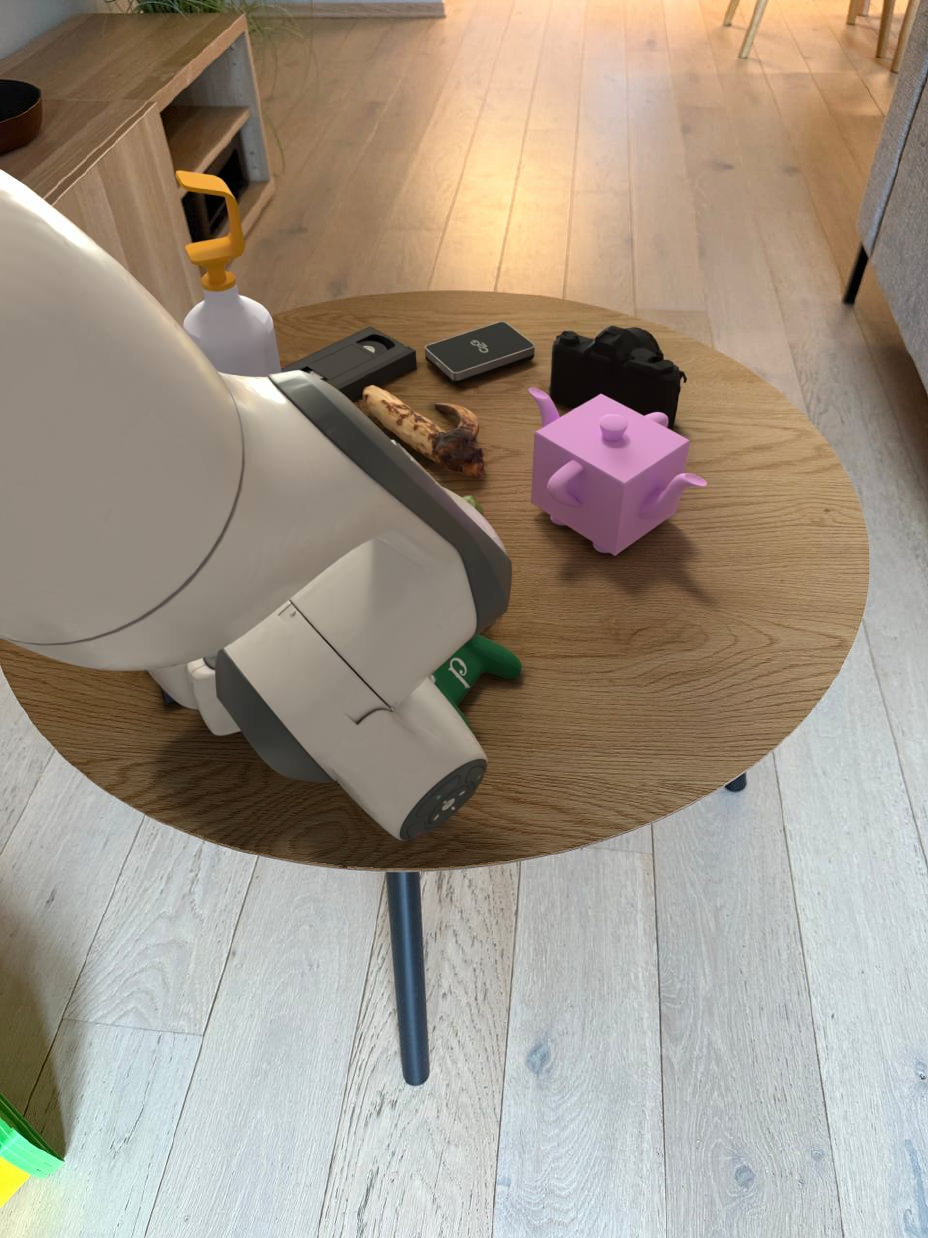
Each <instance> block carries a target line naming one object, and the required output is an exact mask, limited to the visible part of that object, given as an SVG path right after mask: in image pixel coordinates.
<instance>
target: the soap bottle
mask: <svg viewBox="0 0 928 1238" xmlns="http://www.w3.org/2000/svg"><path fill="white" fill-rule="evenodd" d="M174 176H175V178H176V180H177V182H178V183H179V185H180V187H181V188H182V189H183V190H184V191H187V192H192V193H199V194H206V195H212V196H219V197H223V198H225V204H226V209H227V215H228V220H229V224H230V225H229V232H228V234H227V235H226V236H223V237H218V238H214V239H213V238H212V239H208V240H202V241H197V242H192V243H189V244H187V245H185V247H184V251H185V253H186V255H187V257H188V259H189V261H190V263H191V264H192V265H194V266H201V267H202V268H204V269H206V271H207V273H206V274H203V276H202V277H201V278H200V283H201V289H202V293H203V299H204V300H202V301H201V302H199V303H197V304H196V305H195V306H194V307H193V308H192V309H191V310H190V311H189V312H188V314H187V315H186V317H185V318H184V319H183V323H182V329H183V330H184V331H185V332H186V333H187V334H188V336H189V337H190V338H191V339H192V340H193V341H194V343H195V344H196V345H197V346H198V347H199V349H200V350H201V351H202V352H203V354H204V355H205V356H206V358H207V359H208V360H209V361H210V363H211V364H212V365H213V366H214V368H215V369H216V370H217V371H218V372H221V373H225V374H230V375H237V376H248V377H268V375H270V374H276V373H281V368H282V366H281V361H280V356H279V350H278V344H277V338H276V331H275V325H274V322H273V321H274V320H273V317H272V316H271V314H270V312H269V311H268V309H267V308H266V307H265V306H264V305H263V304H261V303H259V302H258V301H256V300H254V299H252V298H250V297H247V296H245V295H240V294H239V290H238V284H237V279H236V275H235V274H234V273H233V272H231V271H229V270H228V271H227V270H226V267H225V266H227V265H228V264H229V263H230V260H234V259H237V258H240V257H241V256H242V255H243V254H244V252H245V248H246V243H245V238H244V233H243V227H242V222H241V217H240V216H241V215H240V211H239V209H240V208H239V204H238V202H237V199H236V197H235V196H234V195H233V193H232V191H231V190H230V188H229V187H228V185H227V184H226V182H225V181H224V180H223V179H222V177H221V178H220V177H218V176H216V175H213V174H206V173H199V172H193V171H187V170H176V171H175V175H174Z"/></svg>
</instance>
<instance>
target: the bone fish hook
mask: <svg viewBox="0 0 928 1238" xmlns="http://www.w3.org/2000/svg"><path fill="white" fill-rule="evenodd" d="M362 399H363V401H364V403H365V405H366V409H367V410H368V411H369V412H371V414H372V415H373V416H375V418H376V419H377V420H378V421H379V422H380V423H381V425H382V426H383V427H384V428H386V429H387V430H388V431H390V432H392V433H393V434H394V435H395V436H396V437H398V438H399V439H400V440H401V441H402V442H403V443H405V444H407V445H408V446H410V447H411V448H412V449H413V450H414V451H415V452H418V453H420V454H421V455H423V456H424V457H425V458H428V459H429V460H431V461H433V462H434V463H435V464H436V465H437V466H439V467H440V468H443V469H446V470H448V471H451V472H454V473H460V474H462V477H463V478H465V479H470V480H472V481H477V480H480V479H482V478H483V477H484V476H486V470H485V460H484V451H483V448H482V447H479V446H477V445H476V443H475V442H476V440H477V437H478V435H479V433H480V422H479V420H478V418H477V416H476V415H475V414H474V413H473V412H472V411H471V410H470V409H468V408H466V407H464V406H462V405H457V404H454V403H448V402H437V403H436V402H435V404H434V407H435V408H436V409H438V410H439V411H441V412H443V413H445V414H447V415H451V416H453V417H455V419H456V420H457V421H458V425H457V428H454V429H451V430H449V431H447V432H446V431H445V430H443V428H442V427H440V426H438V425H437V424H435V422H433V421H432V420H431V419H429V418H428V417H425V416H424V415H421V414H420V413H418V412H417V411H416V410H414V409H412V408H411V407H410V406H408V405H407V404H405V403H404V402H403V401H401V400H400V398H398V397H397V396H395V395H393V394H392V393H390V392H388V390H385V389H382V388H381V387H379V386H377V387H376V386H374V385H371V386H369V387H365V388H364V390H363V394H362Z"/></svg>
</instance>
